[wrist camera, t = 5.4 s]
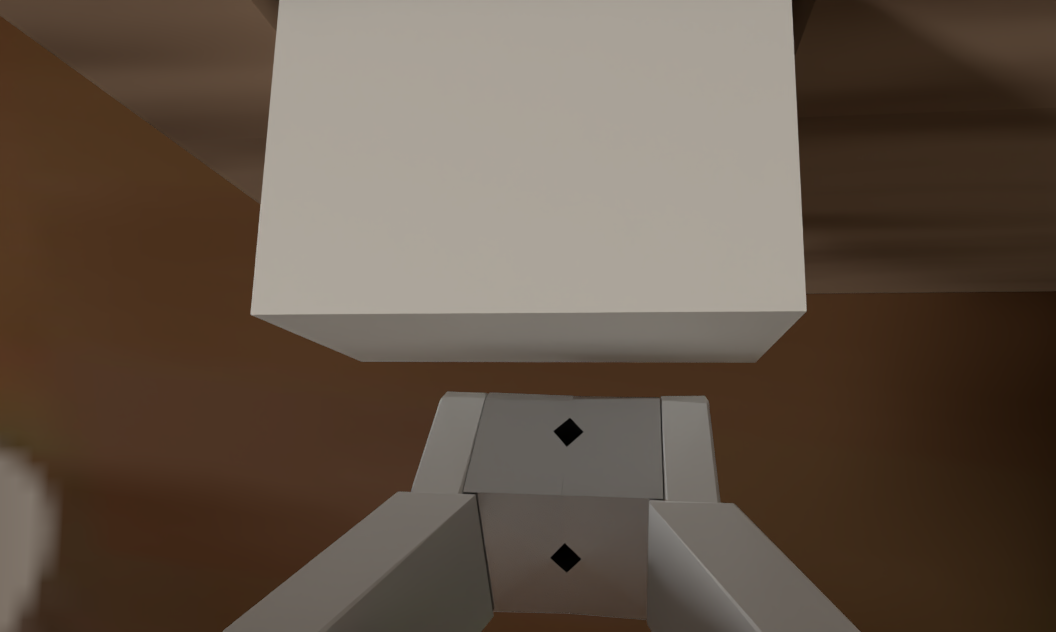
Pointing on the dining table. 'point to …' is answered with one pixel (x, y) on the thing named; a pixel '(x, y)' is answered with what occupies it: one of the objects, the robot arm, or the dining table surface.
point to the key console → (822, 114)
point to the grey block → (533, 180)
